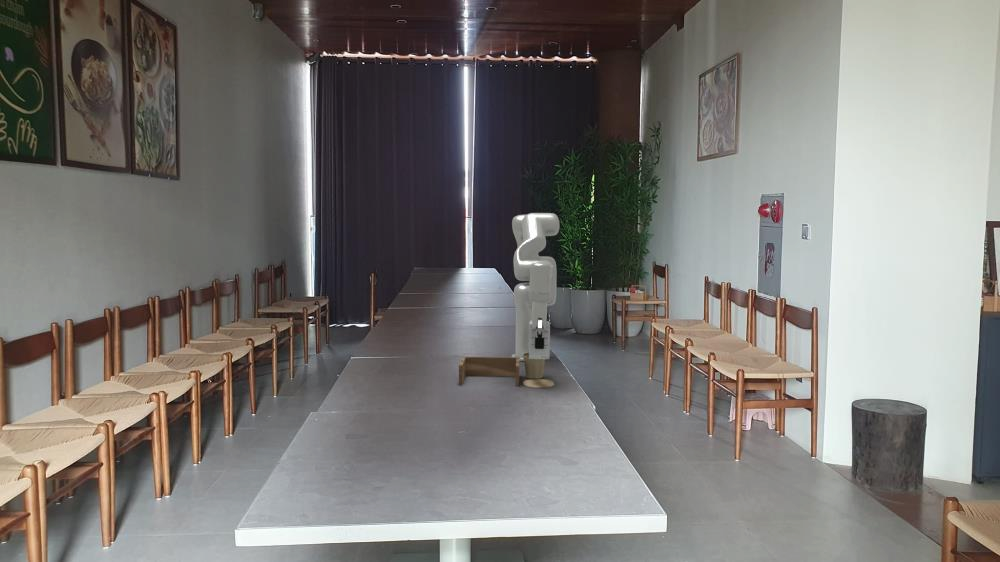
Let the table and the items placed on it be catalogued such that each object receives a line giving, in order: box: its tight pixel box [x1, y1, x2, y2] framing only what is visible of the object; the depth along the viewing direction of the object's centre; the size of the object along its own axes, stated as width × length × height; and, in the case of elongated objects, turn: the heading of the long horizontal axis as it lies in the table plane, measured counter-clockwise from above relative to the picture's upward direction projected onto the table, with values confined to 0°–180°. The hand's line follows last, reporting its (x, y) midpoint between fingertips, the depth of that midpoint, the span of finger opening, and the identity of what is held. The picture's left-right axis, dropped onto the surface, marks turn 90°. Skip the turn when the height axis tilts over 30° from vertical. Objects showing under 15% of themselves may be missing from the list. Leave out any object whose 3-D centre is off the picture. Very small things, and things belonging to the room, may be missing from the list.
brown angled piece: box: [458, 356, 521, 387], centre depth 274 cm, size 15×21×7 cm
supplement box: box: [529, 320, 551, 360], centre depth 267 cm, size 7×7×13 cm
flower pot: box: [522, 352, 547, 380], centre depth 279 cm, size 9×9×9 cm
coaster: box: [523, 378, 555, 389], centre depth 269 cm, size 11×11×1 cm
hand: (539, 346), depth 268 cm, fingers closed on supplement box, 7 cm apart
